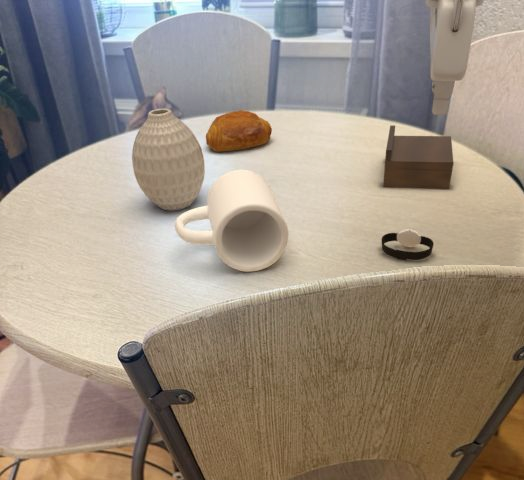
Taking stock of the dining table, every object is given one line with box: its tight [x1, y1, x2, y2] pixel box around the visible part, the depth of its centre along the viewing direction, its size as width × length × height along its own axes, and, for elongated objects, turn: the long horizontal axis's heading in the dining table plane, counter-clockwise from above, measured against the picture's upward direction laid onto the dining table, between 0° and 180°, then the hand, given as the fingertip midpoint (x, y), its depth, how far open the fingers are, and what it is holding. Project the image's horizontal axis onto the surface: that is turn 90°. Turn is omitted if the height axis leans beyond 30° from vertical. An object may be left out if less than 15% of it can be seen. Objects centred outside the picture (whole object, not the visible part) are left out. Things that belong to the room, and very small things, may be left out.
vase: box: [131, 108, 206, 212], centre depth 96 cm, size 13×13×17 cm
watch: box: [381, 228, 435, 261], centre depth 80 cm, size 8×5×4 cm, turn 68°
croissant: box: [205, 109, 273, 153], centre depth 124 cm, size 14×16×8 cm
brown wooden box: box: [382, 124, 454, 190], centre depth 103 cm, size 12×14×7 cm
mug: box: [174, 169, 289, 273], centre depth 82 cm, size 16×14×11 cm
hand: (438, 102), depth 67 cm, fingers open, 8 cm apart
